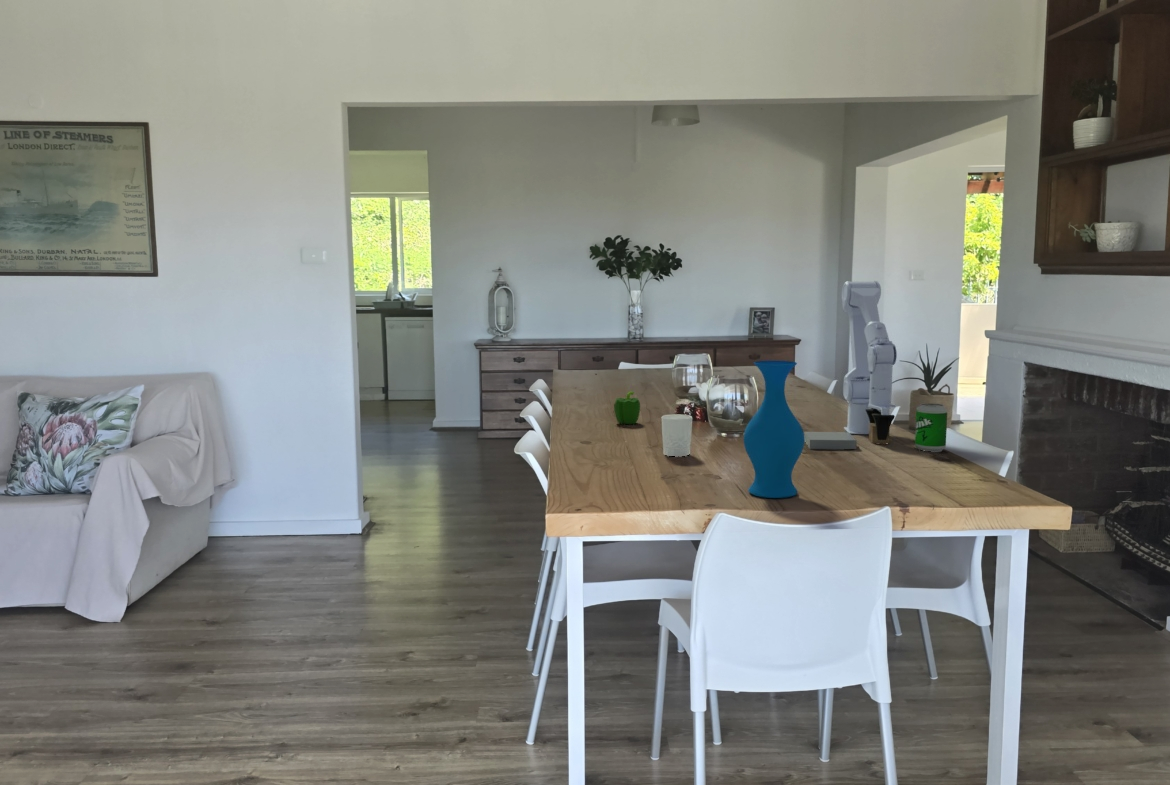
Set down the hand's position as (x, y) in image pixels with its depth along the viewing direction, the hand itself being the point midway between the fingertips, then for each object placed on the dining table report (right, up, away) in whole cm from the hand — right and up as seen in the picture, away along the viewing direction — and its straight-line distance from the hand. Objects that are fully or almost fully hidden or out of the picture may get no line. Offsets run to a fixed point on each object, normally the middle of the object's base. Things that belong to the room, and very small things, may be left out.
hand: (878, 437), depth 240 cm
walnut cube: (0, -2, 0) cm, 2 cm away
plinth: (-15, -2, -3) cm, 15 cm away
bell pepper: (-67, +2, +34) cm, 76 cm away
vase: (-41, -9, -55) cm, 69 cm away
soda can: (+10, -3, -11) cm, 15 cm away
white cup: (-57, -4, -14) cm, 59 cm away
